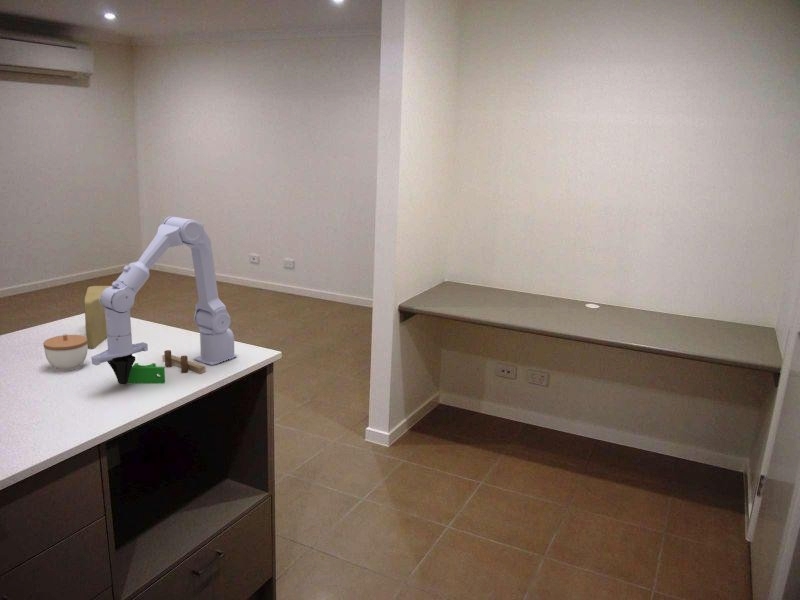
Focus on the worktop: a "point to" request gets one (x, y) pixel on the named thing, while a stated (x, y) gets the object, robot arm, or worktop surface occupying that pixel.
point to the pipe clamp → (146, 374)
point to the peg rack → (182, 363)
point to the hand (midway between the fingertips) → (122, 383)
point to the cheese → (95, 316)
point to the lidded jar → (66, 351)
